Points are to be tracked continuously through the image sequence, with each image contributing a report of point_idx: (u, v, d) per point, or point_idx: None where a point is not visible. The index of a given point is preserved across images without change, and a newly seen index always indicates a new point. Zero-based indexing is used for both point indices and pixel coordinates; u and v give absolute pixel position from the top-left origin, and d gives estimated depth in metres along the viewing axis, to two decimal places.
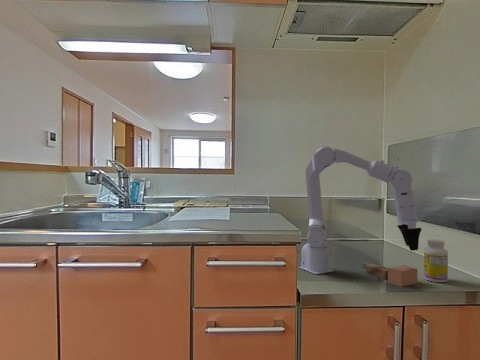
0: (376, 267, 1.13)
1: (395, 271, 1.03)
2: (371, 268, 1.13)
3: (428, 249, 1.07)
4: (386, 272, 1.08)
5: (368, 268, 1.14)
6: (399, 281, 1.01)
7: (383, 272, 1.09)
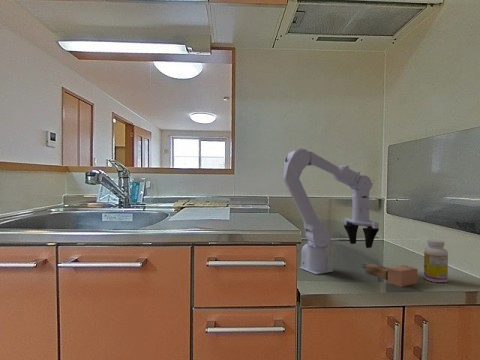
0: (376, 267, 1.13)
1: (395, 271, 1.03)
2: (371, 268, 1.13)
3: (428, 249, 1.07)
4: (386, 272, 1.08)
5: (368, 268, 1.14)
6: (399, 281, 1.01)
7: (383, 272, 1.09)
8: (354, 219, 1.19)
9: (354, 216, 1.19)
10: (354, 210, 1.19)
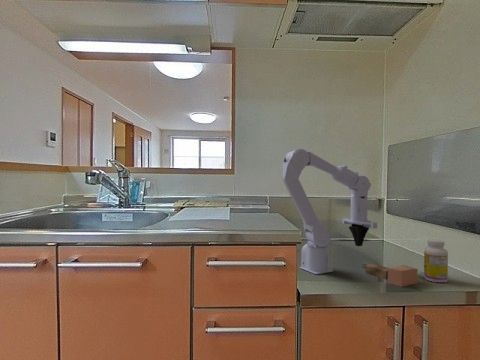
0: (376, 267, 1.13)
1: (395, 271, 1.03)
2: (371, 268, 1.13)
3: (428, 249, 1.07)
4: (387, 272, 1.08)
5: (368, 268, 1.14)
6: (399, 281, 1.01)
7: (384, 272, 1.09)
8: (352, 219, 1.19)
9: (352, 216, 1.19)
10: (352, 210, 1.19)
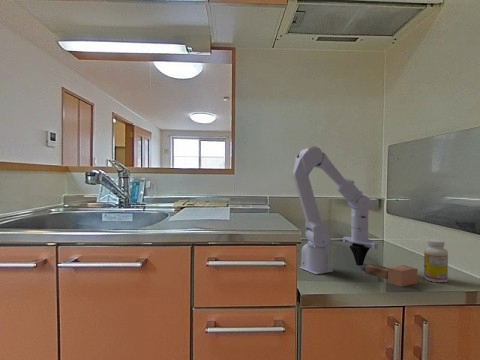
0: (376, 267, 1.13)
1: (395, 271, 1.03)
2: (371, 268, 1.13)
3: (428, 249, 1.07)
4: (387, 272, 1.09)
5: (368, 268, 1.14)
6: (399, 281, 1.01)
7: (384, 272, 1.09)
8: (353, 239, 1.19)
9: (353, 236, 1.19)
10: (353, 230, 1.19)
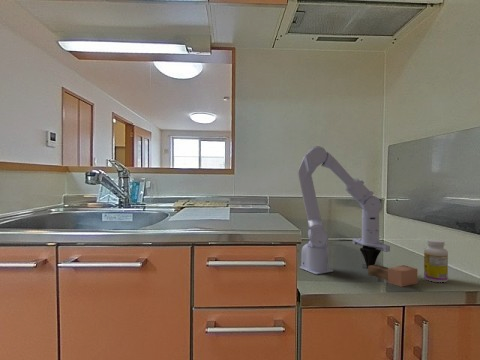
0: (379, 268, 1.11)
1: (395, 271, 1.03)
2: (374, 269, 1.12)
3: (428, 249, 1.07)
4: None
5: (371, 269, 1.13)
6: (399, 281, 1.01)
7: (386, 272, 1.07)
8: (364, 241, 1.15)
9: (364, 238, 1.15)
10: (364, 232, 1.15)
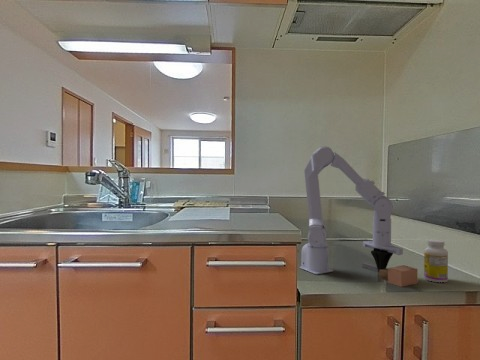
0: None
1: (395, 271, 1.03)
2: (385, 273, 1.07)
3: (428, 249, 1.07)
4: None
5: (382, 273, 1.09)
6: (399, 281, 1.01)
7: None
8: (375, 244, 1.11)
9: (375, 240, 1.11)
10: (375, 234, 1.11)
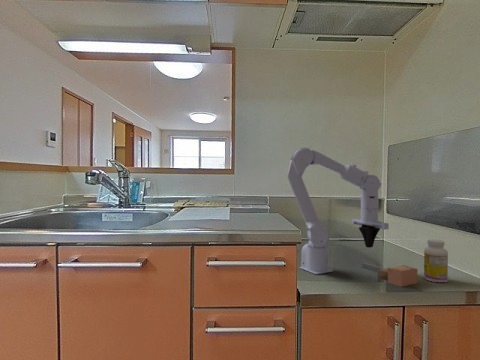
0: None
1: (395, 271, 1.03)
2: (385, 273, 1.07)
3: (428, 249, 1.07)
4: None
5: (382, 273, 1.09)
6: (399, 281, 1.01)
7: None
8: (363, 220, 1.16)
9: (363, 217, 1.16)
10: (363, 210, 1.16)
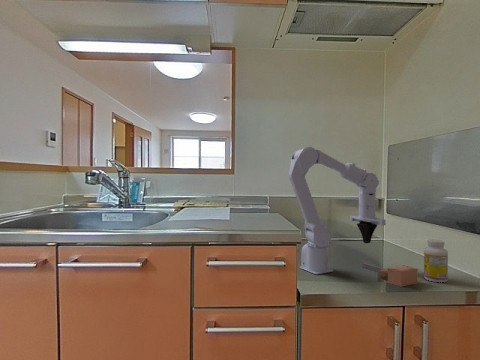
0: None
1: (395, 271, 1.03)
2: (385, 273, 1.07)
3: (428, 249, 1.07)
4: None
5: (382, 273, 1.08)
6: (399, 281, 1.01)
7: None
8: (361, 216, 1.20)
9: (361, 213, 1.20)
10: (361, 207, 1.20)
